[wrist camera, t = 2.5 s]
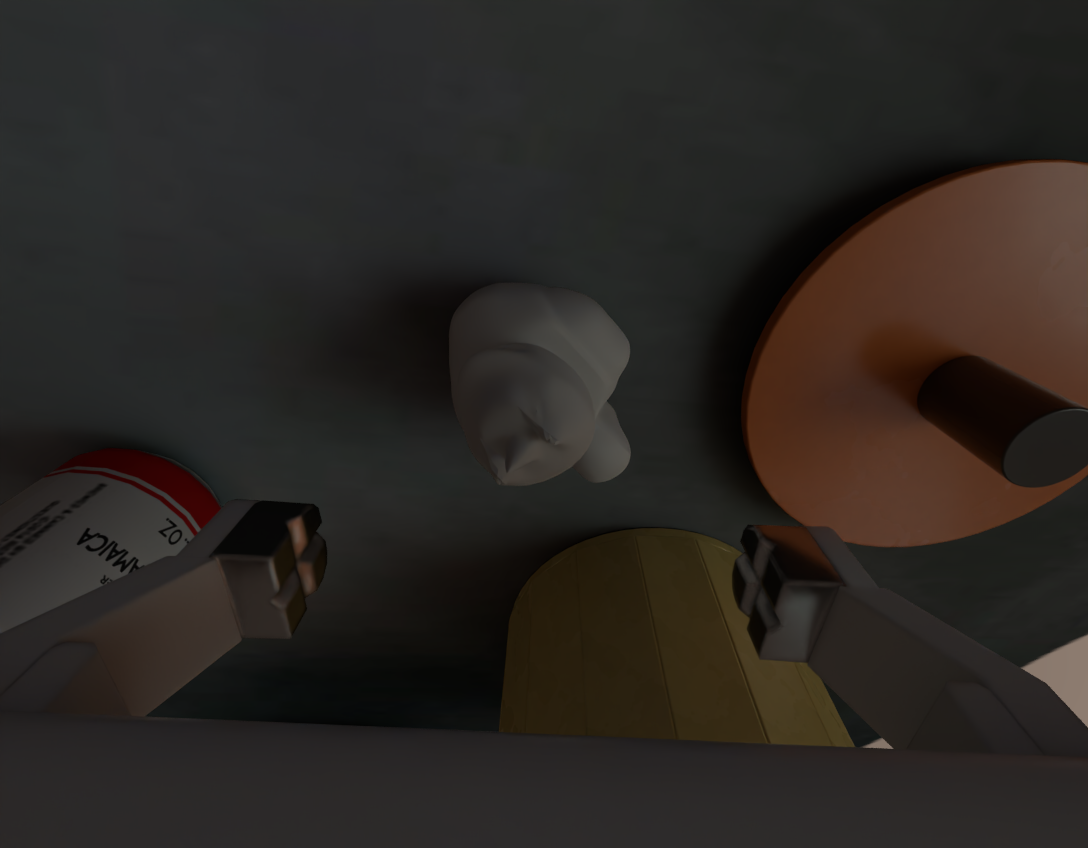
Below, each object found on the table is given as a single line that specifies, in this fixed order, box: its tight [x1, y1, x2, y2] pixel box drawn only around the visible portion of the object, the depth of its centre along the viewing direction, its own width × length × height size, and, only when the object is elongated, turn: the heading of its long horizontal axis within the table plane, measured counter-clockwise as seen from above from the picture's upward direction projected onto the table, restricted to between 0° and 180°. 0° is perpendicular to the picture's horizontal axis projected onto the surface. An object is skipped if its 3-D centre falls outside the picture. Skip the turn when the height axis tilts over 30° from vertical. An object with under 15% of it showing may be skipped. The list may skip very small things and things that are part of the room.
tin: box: [499, 528, 855, 747], centre depth 19 cm, size 12×12×10 cm
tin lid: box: [741, 159, 1088, 547], centre depth 15 cm, size 13×13×5 cm
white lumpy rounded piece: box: [449, 283, 631, 486], centre depth 14 cm, size 5×7×8 cm
